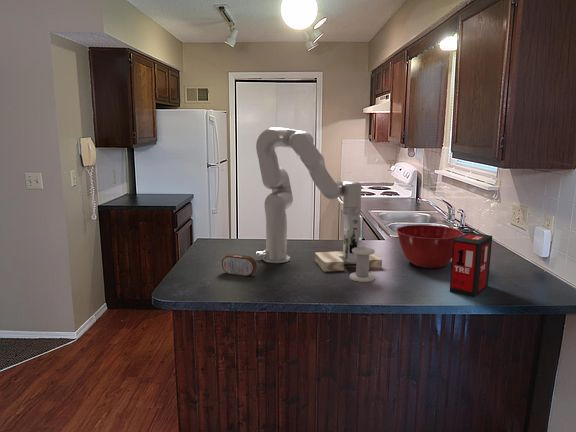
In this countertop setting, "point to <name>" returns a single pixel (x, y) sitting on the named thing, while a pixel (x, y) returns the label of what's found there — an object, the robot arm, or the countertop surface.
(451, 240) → the mixing bowl
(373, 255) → the notched board
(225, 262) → the tin
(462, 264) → the cleaning product box
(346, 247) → the syrup box
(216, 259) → the countertop surface
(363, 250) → the doorknob
